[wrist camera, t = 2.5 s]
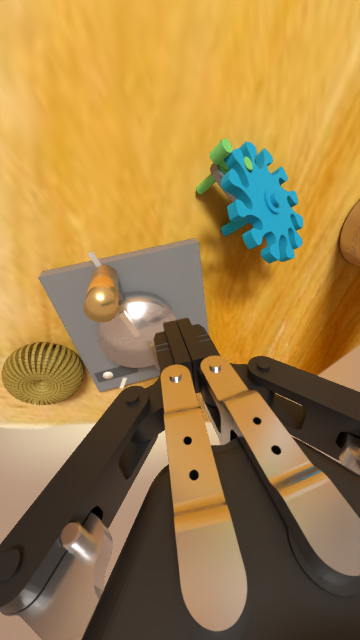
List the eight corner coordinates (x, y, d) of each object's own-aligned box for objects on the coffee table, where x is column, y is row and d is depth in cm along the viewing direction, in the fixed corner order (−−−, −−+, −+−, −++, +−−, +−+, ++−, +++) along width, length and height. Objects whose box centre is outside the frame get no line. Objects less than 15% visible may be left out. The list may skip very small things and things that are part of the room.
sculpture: (73, 354, 23) (86, 407, 28) (79, 332, 27) (89, 381, 31) (-19, 363, 22) (9, 417, 26) (-1, 337, 25) (22, 389, 29)
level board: (193, 225, 23) (197, 228, 22) (208, 356, 33) (211, 364, 31) (36, 259, 22) (30, 264, 20) (101, 385, 31) (100, 394, 30)
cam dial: (200, 360, 30) (216, 398, 25) (145, 387, 31) (150, 429, 26) (137, 246, 21) (142, 269, 16) (59, 286, 21) (41, 321, 17)
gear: (317, 209, 23) (297, 283, 19) (265, 236, 28) (239, 299, 23) (251, 102, 19) (205, 163, 14) (203, 155, 24) (157, 214, 19)
